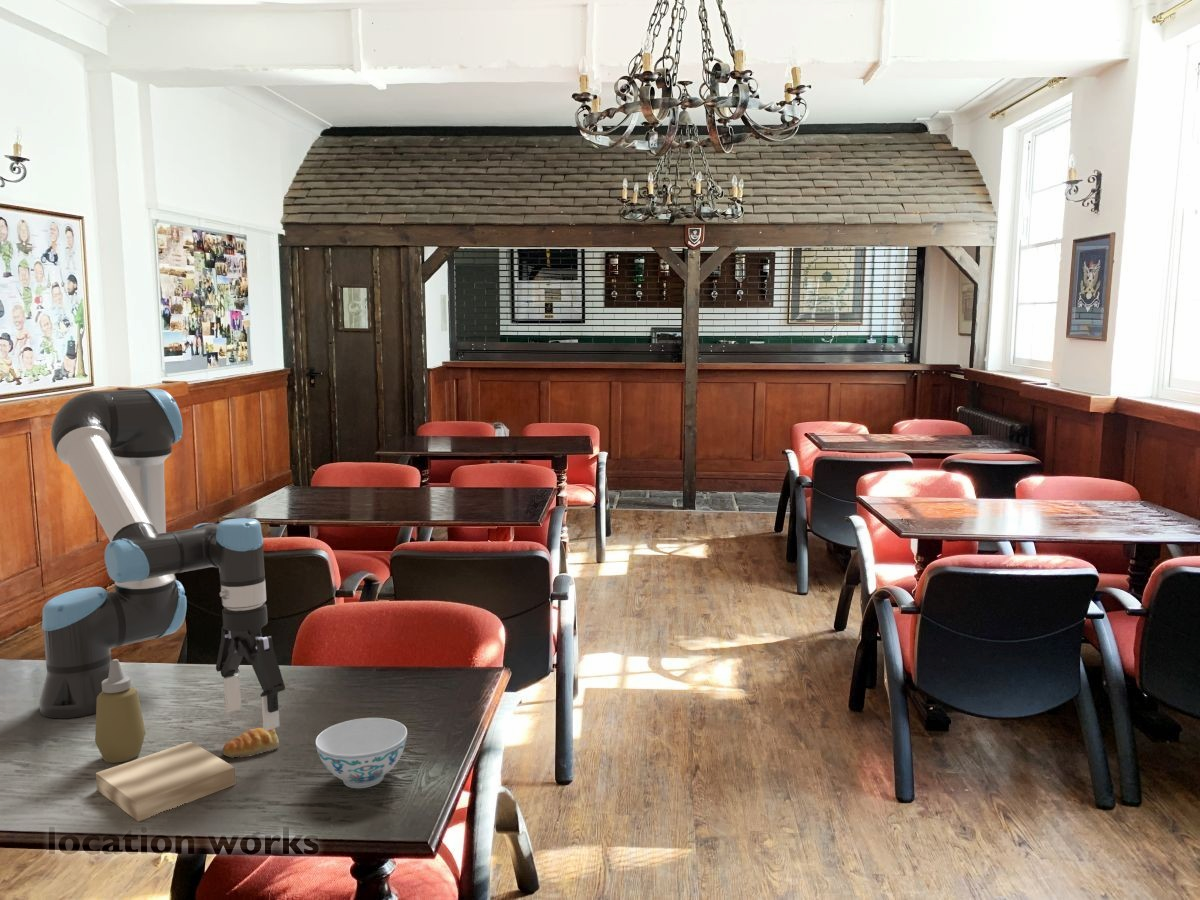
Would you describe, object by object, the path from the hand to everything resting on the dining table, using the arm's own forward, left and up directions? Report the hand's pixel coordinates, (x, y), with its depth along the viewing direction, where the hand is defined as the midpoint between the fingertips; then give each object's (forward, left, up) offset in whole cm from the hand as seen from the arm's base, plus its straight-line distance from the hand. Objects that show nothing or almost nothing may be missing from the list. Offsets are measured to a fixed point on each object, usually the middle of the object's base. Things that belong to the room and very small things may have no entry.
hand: (252, 719), depth 170 cm
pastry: (0, 0, -6) cm, 6 cm away
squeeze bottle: (-15, -17, -6) cm, 24 cm away
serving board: (+3, -17, -6) cm, 18 cm away
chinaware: (+26, +6, -6) cm, 27 cm away
